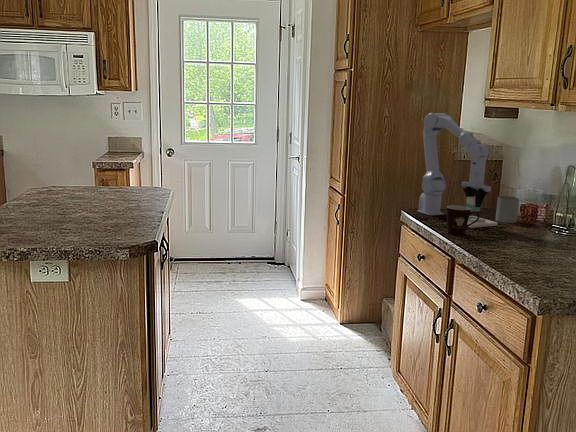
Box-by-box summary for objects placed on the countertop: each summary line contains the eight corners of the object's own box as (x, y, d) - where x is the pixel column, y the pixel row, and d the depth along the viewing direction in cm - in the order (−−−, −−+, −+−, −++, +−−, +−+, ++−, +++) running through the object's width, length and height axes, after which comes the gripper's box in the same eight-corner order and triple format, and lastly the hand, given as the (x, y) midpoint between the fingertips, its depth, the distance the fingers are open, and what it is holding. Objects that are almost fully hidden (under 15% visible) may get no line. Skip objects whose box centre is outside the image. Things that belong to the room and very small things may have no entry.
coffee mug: (442, 234, 212) (444, 208, 210) (447, 229, 220) (449, 204, 218) (474, 238, 207) (476, 211, 205) (478, 233, 215) (480, 208, 213)
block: (465, 209, 234) (466, 196, 232) (473, 209, 235) (474, 196, 234) (472, 211, 230) (473, 198, 229) (480, 211, 232) (481, 197, 231)
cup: (517, 223, 236) (520, 200, 234) (497, 222, 237) (499, 198, 235) (514, 219, 244) (516, 196, 242) (494, 218, 246) (496, 195, 244)
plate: (447, 220, 237) (447, 215, 237) (472, 218, 243) (473, 213, 243) (471, 227, 225) (471, 222, 224) (497, 225, 231) (497, 220, 230)
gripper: (457, 171, 234) (454, 203, 237) (482, 176, 222) (479, 209, 224) (470, 170, 237) (467, 202, 240) (496, 175, 225) (492, 209, 227)
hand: (473, 206), depth 232 cm, fingers closed on block, 4 cm apart
